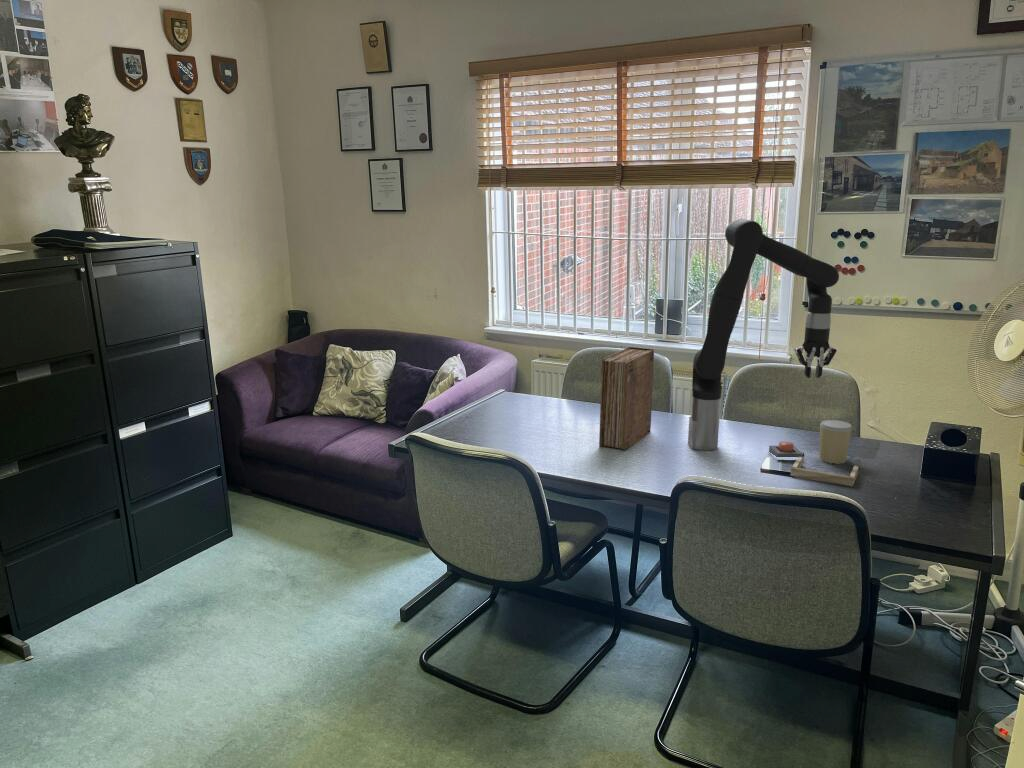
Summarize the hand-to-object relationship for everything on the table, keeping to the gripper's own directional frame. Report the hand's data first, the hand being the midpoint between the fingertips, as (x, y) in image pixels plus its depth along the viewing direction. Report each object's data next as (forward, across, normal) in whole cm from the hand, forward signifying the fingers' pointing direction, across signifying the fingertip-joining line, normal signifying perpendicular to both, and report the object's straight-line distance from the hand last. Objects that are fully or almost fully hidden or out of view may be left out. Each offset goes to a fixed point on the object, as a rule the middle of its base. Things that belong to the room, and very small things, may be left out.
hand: (812, 377), depth 253 cm
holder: (+23, -6, -31) cm, 39 cm away
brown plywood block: (+23, -61, +4) cm, 65 cm away
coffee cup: (+23, +2, -17) cm, 29 cm away
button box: (+23, -12, -14) cm, 30 cm away
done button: (+22, -12, -14) cm, 28 cm away
